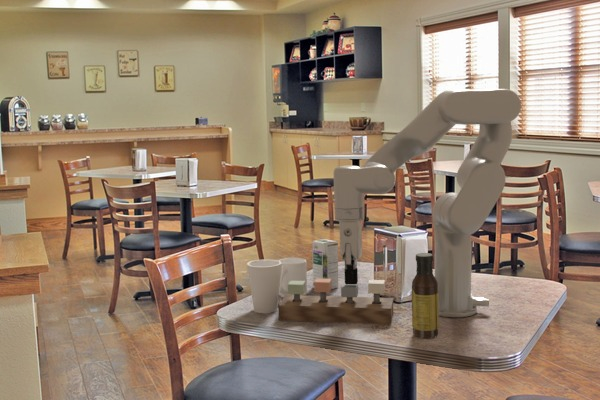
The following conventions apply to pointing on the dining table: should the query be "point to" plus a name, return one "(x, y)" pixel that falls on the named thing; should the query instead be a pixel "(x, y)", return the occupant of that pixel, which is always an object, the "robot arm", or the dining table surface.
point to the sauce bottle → (425, 299)
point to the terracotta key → (322, 287)
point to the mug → (292, 274)
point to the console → (336, 309)
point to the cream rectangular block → (376, 289)
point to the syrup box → (325, 260)
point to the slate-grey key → (349, 291)
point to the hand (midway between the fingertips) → (351, 283)
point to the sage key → (296, 289)
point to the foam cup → (264, 284)
